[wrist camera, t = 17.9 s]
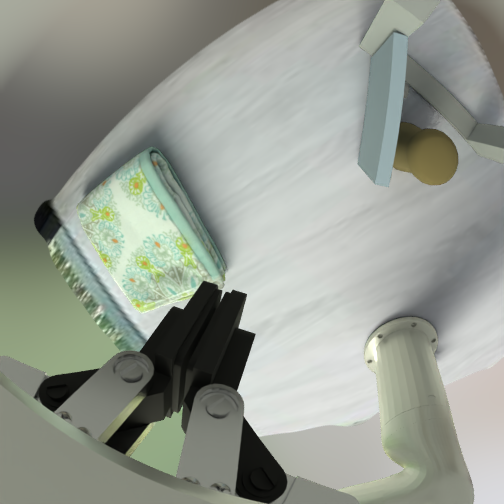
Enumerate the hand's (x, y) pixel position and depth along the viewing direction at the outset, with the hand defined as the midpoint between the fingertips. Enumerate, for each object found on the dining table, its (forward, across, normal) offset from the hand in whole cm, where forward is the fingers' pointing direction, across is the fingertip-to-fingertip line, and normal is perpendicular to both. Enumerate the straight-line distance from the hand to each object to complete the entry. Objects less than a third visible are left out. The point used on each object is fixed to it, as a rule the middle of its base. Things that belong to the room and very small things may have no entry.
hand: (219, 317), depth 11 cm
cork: (+27, -12, -8) cm, 31 cm away
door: (+26, -8, -11) cm, 29 cm away
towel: (+28, +17, +13) cm, 35 cm away
